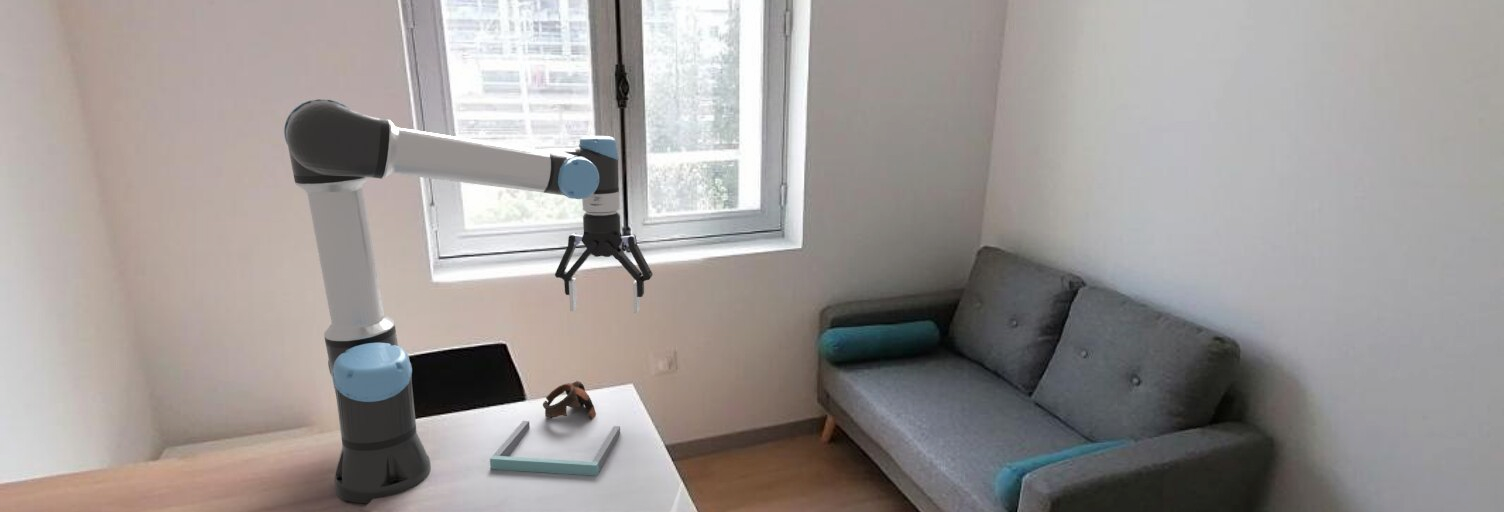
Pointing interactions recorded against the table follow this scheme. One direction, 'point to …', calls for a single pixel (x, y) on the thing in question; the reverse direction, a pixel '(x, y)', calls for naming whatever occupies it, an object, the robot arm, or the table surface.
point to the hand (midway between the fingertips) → (605, 310)
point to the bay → (550, 465)
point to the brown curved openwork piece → (568, 400)
